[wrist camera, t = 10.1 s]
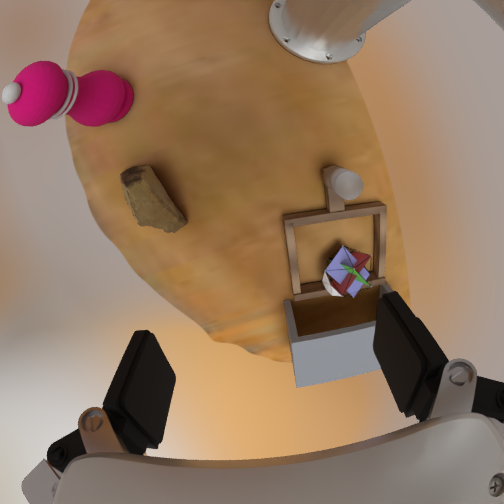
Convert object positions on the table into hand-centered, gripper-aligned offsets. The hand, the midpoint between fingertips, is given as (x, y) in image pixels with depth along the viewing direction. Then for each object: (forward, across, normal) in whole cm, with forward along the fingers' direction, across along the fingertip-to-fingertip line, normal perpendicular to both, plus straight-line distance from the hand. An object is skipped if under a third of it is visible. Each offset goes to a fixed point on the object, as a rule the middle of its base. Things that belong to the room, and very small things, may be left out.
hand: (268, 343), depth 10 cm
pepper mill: (+26, +16, -17) cm, 35 cm away
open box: (+26, -10, +22) cm, 36 cm away
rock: (+27, +13, -2) cm, 30 cm away
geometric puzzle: (+27, -11, +12) cm, 31 cm away
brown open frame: (+26, -10, +6) cm, 29 cm away
